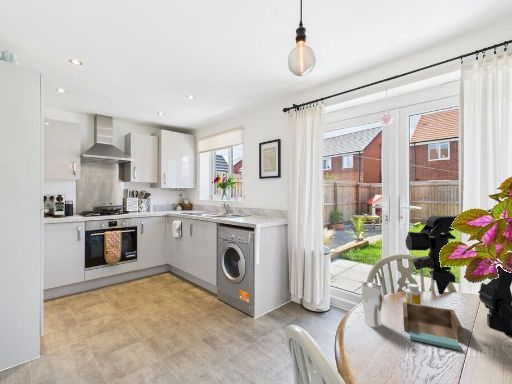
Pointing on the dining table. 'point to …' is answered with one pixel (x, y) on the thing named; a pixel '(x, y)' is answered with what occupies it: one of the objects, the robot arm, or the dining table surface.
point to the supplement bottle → (413, 294)
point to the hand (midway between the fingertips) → (440, 293)
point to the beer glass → (372, 303)
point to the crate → (432, 321)
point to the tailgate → (434, 340)
